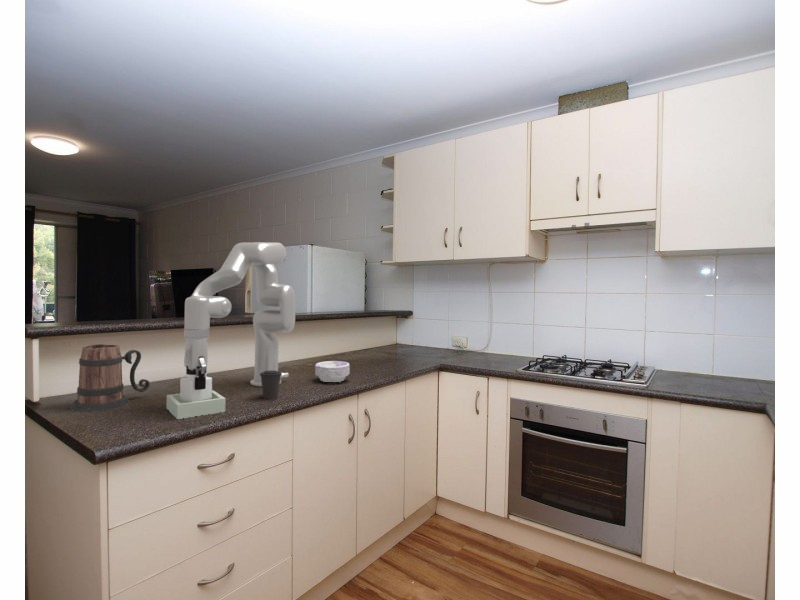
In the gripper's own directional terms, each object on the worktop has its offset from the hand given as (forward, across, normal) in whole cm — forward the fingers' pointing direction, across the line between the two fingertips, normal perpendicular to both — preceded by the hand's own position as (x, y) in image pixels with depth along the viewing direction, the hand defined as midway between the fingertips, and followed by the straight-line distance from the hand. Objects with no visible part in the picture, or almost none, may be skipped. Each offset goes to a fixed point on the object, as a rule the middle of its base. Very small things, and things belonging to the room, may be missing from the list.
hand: (196, 386), depth 142 cm
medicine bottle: (+4, 0, 0) cm, 4 cm away
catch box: (+8, 0, 0) cm, 8 cm away
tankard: (+8, -24, -20) cm, 33 cm away
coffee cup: (+8, -2, +26) cm, 28 cm away
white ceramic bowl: (+8, -14, +60) cm, 62 cm away
